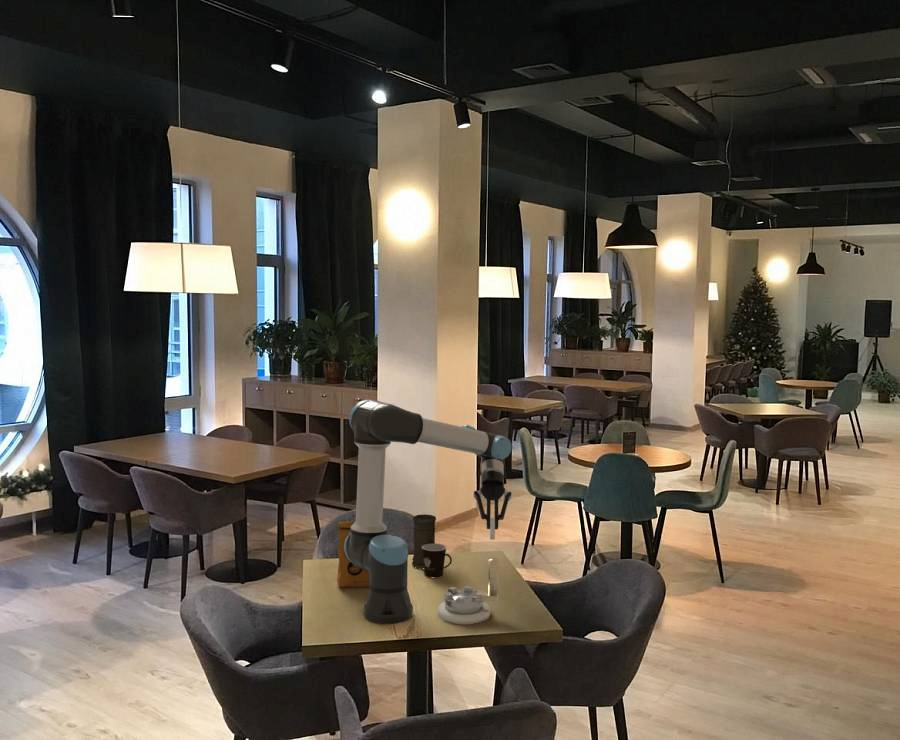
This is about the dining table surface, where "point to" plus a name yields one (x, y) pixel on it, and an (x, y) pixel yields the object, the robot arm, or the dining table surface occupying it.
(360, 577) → the coffee package
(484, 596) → the grey and clear pieces
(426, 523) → the container
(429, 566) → the coffee mug
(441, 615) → the nut base plate
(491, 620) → the dining table surface
